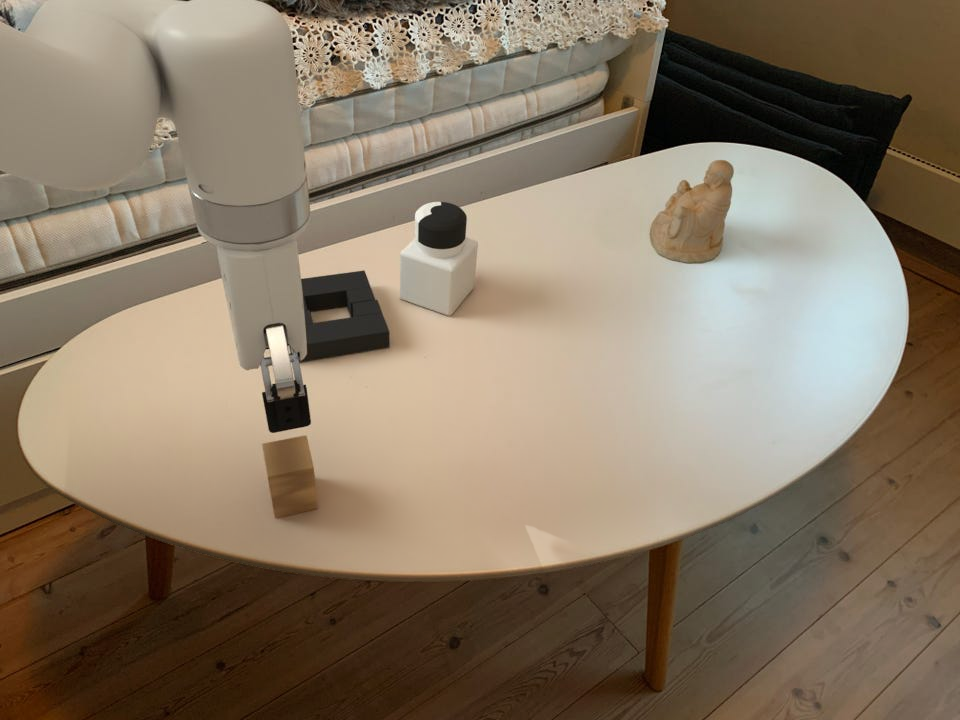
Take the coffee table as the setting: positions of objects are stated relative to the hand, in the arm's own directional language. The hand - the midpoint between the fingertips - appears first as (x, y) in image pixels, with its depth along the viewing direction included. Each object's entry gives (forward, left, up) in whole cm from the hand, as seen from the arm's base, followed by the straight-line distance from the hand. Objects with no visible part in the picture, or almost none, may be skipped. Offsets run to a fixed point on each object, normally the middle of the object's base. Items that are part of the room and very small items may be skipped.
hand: (281, 384), depth 63 cm
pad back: (+8, +28, -15) cm, 32 cm away
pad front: (+8, +22, -15) cm, 27 cm away
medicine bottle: (+22, +27, -15) cm, 38 cm away
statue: (+60, +31, -15) cm, 69 cm away
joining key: (0, 0, -15) cm, 15 cm away
